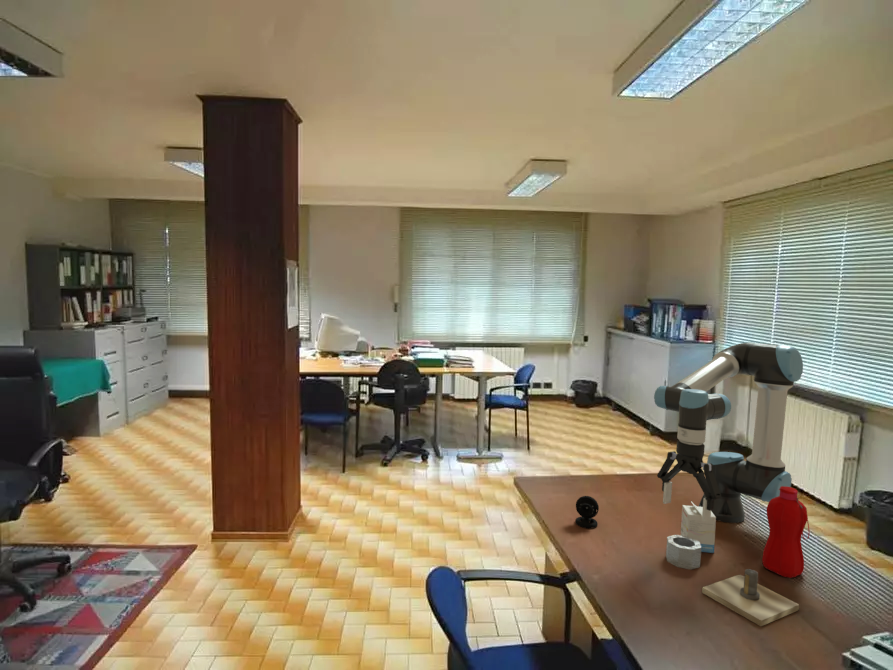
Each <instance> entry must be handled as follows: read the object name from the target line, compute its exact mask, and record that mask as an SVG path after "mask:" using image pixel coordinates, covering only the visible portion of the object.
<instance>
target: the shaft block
mask: <svg viewBox="0 0 893 670" xmlns="http://www.w3.org/2000/svg"><path fill="white" fill-rule="evenodd" d="M758 581H759V572H758V571H756V570H754V569H751V568H746V569H744V575H742V574H738V575H737V574H736V575H734V576H731V577H729V578H726V579H723V580H720V581H716V582H714V583H711V584H708V585H706V586H703V587H702V592H701V593H702V594H704V595H706V596H708V597H709V598H710V599H713V600H714V601H716V602H718V603H720V605H723V606H725V607H726V608H728V609H730V610H731V611H733V612H735V613H737V614H738V615H740V616H742V617H744V618H746V619H747V620H749V621H751V622H752V623H755V624H756V625H757V626H759V627H763V626H765V625H767V624H770V623H772V622H774V621H776V620H779V619H782V618H783V617H784V618H785V617H786V616H788V615H790V614H793V613H795V612H798V611H799V610H800V609H799V608H800V604H799V603H797V602H795V601H793V600H791V599H789V598H787V597H785V596H783V595H781V594H779V593H777V592H775V591H773V590H772V589H769V588H768V587H765V586H764V585H761V584H759V583H758Z"/></svg>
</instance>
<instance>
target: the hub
mask: <svg viewBox="0 0 893 670" xmlns="http://www.w3.org/2000/svg"><path fill="white" fill-rule="evenodd" d="M701 556H702V552H701V545H700V542H699V541H697V540H695V539H692V538H690V537H688V536H681V534H673V535H669V536H667V537H666V552H665V558H666V562H667V563H670V564H671V565H673V566H675V567H677V568H682V569H685V570H694V569H699V568H700V567H701V558H702V557H701Z"/></svg>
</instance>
